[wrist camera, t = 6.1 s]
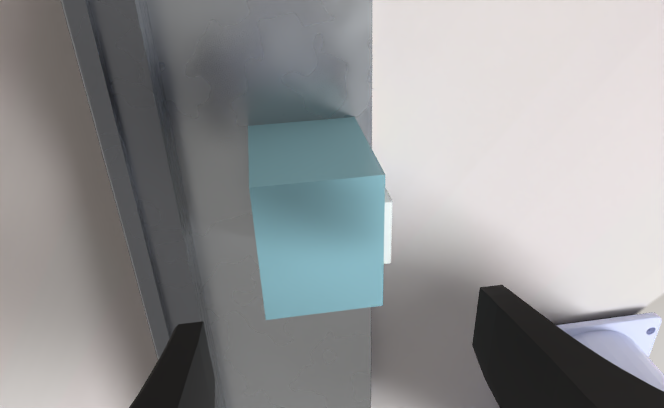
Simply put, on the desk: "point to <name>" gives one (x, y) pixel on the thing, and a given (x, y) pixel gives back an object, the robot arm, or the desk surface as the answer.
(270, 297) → the block
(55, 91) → the desk surface
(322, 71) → the rail board
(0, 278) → the desk surface
